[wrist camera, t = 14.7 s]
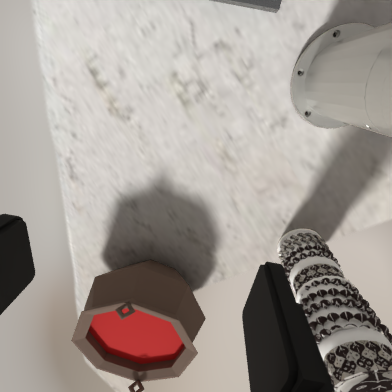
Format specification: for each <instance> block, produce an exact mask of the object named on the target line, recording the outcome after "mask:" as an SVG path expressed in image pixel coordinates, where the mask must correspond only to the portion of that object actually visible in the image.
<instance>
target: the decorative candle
mask: <svg viewBox="0 0 392 392" xmlns="http://www.w3.org/2000/svg"><path fill="white" fill-rule="evenodd" d="M277 251H278V254H279V258H280V259H281V260H283V261H282V262H281V264H282V265H283V266H284V270H285V273H286V276H287V279H288V280H289V283H290V284H291V285H292V287H293V290H294V291H295V292H296V299H295V300H296V303H299V304H300V305H301V306H302V308H303V309H304V312H305V315H306V317H307V320H308V322H309V325H310V327H311V330H312V333H313V335H314V338H315V340H316V343H317V346H318V348H319V351H320V353H321V356H322V358H323V361H324V364H325V366H326V369H327V371H328V374H329V377H330V379H331V382H332V384H333V387H334V390H335V392H392V335H391V334H390V333H389V329H388V328H387V327H386V326H385V325H383V324H380V323H381V321H380V319H379V318H378V317H377V316H376V313H375V312H374V311H373V310H372V309H371V308H370V307H369V303H368V301H366V300H364V299H363V297H362V295H360V294H359V291H358V289H357V288H356V287H355V286H354V285H353V284H352V283H351V282H350V281H349V280H347V279H345V278H344V275H343V272H342V270H341V269H340V265H339V264H338V261H337V259H336V258H334V257H333V253H332V252H331V251H330V250H329V247H328V245H326V244H325V241H324V240H323V239H322V237H321V236H320V235H319V234H318V233H317V232H315V231H313V230H310V229H300V228H299V229H295V230H292V231H289V232H288V233H286V234H285V235H283V236H282V238H281V239H280V241H279V242H278V246H277ZM382 331H383V333H384V335H383V334H382V333H381V332H382Z"/></svg>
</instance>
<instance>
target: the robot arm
mask: <svg viewBox="0 0 392 392" xmlns="http://www.w3.org/2000/svg"><path fill="white" fill-rule="evenodd" d="M333 33H335V37H333ZM298 71H300V72H301V73H300V75H298ZM291 98H292V103H293V105H294V107H295V110H296V111H297V113H298V114H299V115H300V116H301V117H302V118H303V119H304V120H305V121H306V122H308V123H310V124H312V125H314V126H317V127H321V128H326V129H329V128H340V127H344V126H347V125H353V126H357V127H360V128H363V129H366V130H369V131H372V132H376V133H379V134H382V135H385V136H388V137H391V138H392V22H391V23H388V24H385V25H382V26H379V27H376V28H375V27H373V26H371V25H368V24H365V23H348V24H343V25H340V26H337V27H334V28H332V29H330V30H328V31H326V32H324V33H323V34H321V35H320V36H319V37H317V38H316V39H315V40H314V41H313V42H312V43H311V44H309V45H308V47H307V48H306V49H305V50H304V52H303V53H302V54H301V56H300V58H299V60H298V61H297V63H296V65H295V68H294V71H293V74H292V79H291ZM306 111H307V114H306V115H305V112H306ZM34 276H35V268H34V263H33V257H32V252H31V247H30V242H29V236H28V231H27V226H26V223H25V222H24V221H23V219H22V218H21V217H19V216H14V215H8V214H2V215H0V315H1V314H2V313H3V311H4V310H5V309H6V308H7V307H8V306H9V305H10V304H11V303H12V302H13V301H14V300H15V299H16V297H17V296H18V295H19V294H20V293H21V292H22V291H23V290H24V289H25V288H26V287H27V285H28V284H29V283H30V282H31V281H32V280H33V278H34ZM242 318H243V328H244V337H245V345H246V355H247V362H248V372H249V381H250V390H251V392H335V390H334V387H333V384H332V382H331V379H330V377H329V374H328V371H327V369H326V366H325V364H324V361H323V358H322V356H321V353H320V351H319V348H318V346H317V343H316V340H315V338H314V335H313V333H312V330H311V327H310V325H309V322H308V320H307V317H306V315H305V312H304V309H303V308H302V306H301V305H300V304H299V303H296V300H295V298H294V295H293V292H292V289H291V287H290V284H289V281H288V279H287V276H286V273H285V270H284V268H283V266H282V265H281V264H277V263H272V262H266V263H265V265H260V267H259V270H258V272H257V275H256V278H255V280H254V283H253V286H252V288H251V291H250V294H249V296H248V299H247V301H246V304H245V307H244V309H243V316H242Z"/></svg>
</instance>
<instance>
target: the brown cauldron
mask: <svg viewBox="0 0 392 392" xmlns="http://www.w3.org/2000/svg"><path fill="white" fill-rule="evenodd" d="M204 321H205V316H204V314H203V312H202V310H201V308H200V307H199V305H198V303H197V301H196V299H195V297H194V295H193V293H192V291H191V289H190V287H189V285H188V284H187V283H186V281H185V280H184V279H183V278H182V277H181V275H180V274H179V273H178V272H177V271H176V269H173V268H171V267H168V266H166V265H163V264H161V263H158V262H156V261H153V260H148V261H144V262H140V263H137V264H133V265H129V266H126V267H123V268H120V269H117V270H114V271H111V272H108V273H105V274H102V275H100V276H97V277H95V279H94V282H93V285H92V288H91V290H90V293H89V296H88V299H87V302H86V305H85V308H84V311H82V312H81V315H80V317H79V320H78V323H77V326H76V329H75V332H74V335H73V338H72V342H73V343H74V344H75V345H76V346H77V347H78V349H79V350H80V351H81V352H82V353H83V354H84V355H85V356H86V357H87V359H88V360H89V361H90V362H91V363H92V364H93V365H94V366H95V367H96V368H97V369H100V370H103V371H106V372H109V373H112V374H115V375H118V376H121V377H124V378H127V379H130V380H134V381H135V382H134V383H133V384H132V385H130V386H129V387H128V388H129V390H130V392H135V390H134V387H135V386H136V385H138V386H139V388H140V389H138V390H137V391H136V392H142V391H143V390H144V387H143V385H142V383H141V382H143V381H150V380H158V379H167V378H175V377H179V376H180V375H181V373H182V372H183V371H184V370H185V369H186V367H187V366H188V365H189V364H190V363H191V361H192V360H193V359H194V358H195V356H196V355H197V354H198V352H197V351H196V349H195V347H194V346H193V344H192V342H193V341H194V339H195V337H196V335H197V333H198V331H199V330H200V328H201V326H202V324H203V322H204Z"/></svg>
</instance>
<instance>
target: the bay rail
mask: <svg viewBox="0 0 392 392" xmlns="http://www.w3.org/2000/svg"><path fill="white" fill-rule="evenodd" d="M211 1H217V2H222V3H227V4H233V5H238V6H243V7H248V8H254V9H259V10H264V11H270V12H275V13H276V12H277V11H278V10H279V8H280V4H281V0H211Z"/></svg>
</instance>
